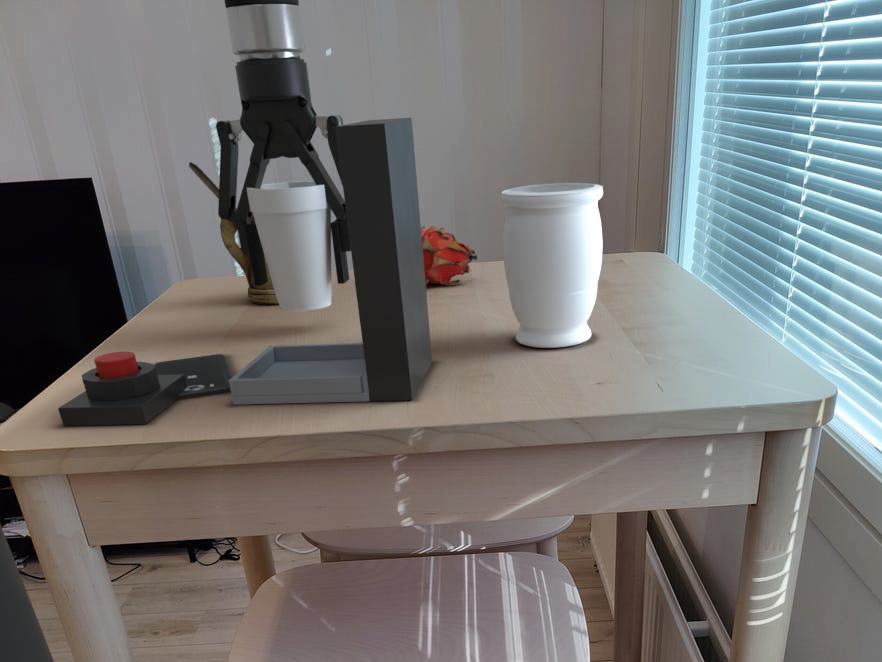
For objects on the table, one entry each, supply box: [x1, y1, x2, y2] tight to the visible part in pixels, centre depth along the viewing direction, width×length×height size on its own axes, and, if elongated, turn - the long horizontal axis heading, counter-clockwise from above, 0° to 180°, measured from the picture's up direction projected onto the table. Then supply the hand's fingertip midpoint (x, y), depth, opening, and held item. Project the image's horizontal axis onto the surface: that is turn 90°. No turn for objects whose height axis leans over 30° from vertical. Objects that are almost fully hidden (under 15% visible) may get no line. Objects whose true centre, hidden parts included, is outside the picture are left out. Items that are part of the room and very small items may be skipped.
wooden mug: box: [188, 161, 279, 305], centre depth 119 cm, size 9×14×18 cm, turn 111°
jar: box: [501, 182, 604, 349], centre depth 91 cm, size 11×10×15 cm
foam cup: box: [247, 180, 332, 312], centre depth 101 cm, size 10×9×13 cm
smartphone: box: [154, 353, 232, 401], centre depth 90 cm, size 8×15×1 cm, turn 18°
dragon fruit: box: [421, 224, 478, 287], centre depth 125 cm, size 8×8×12 cm
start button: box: [93, 351, 139, 378], centre depth 80 cm, size 4×4×2 cm
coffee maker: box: [229, 117, 433, 406], centre depth 80 cm, size 17×13×22 cm
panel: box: [57, 361, 187, 427], centre depth 81 cm, size 8×10×4 cm
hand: (302, 282), depth 103 cm, fingers closed on foam cup, 9 cm apart
